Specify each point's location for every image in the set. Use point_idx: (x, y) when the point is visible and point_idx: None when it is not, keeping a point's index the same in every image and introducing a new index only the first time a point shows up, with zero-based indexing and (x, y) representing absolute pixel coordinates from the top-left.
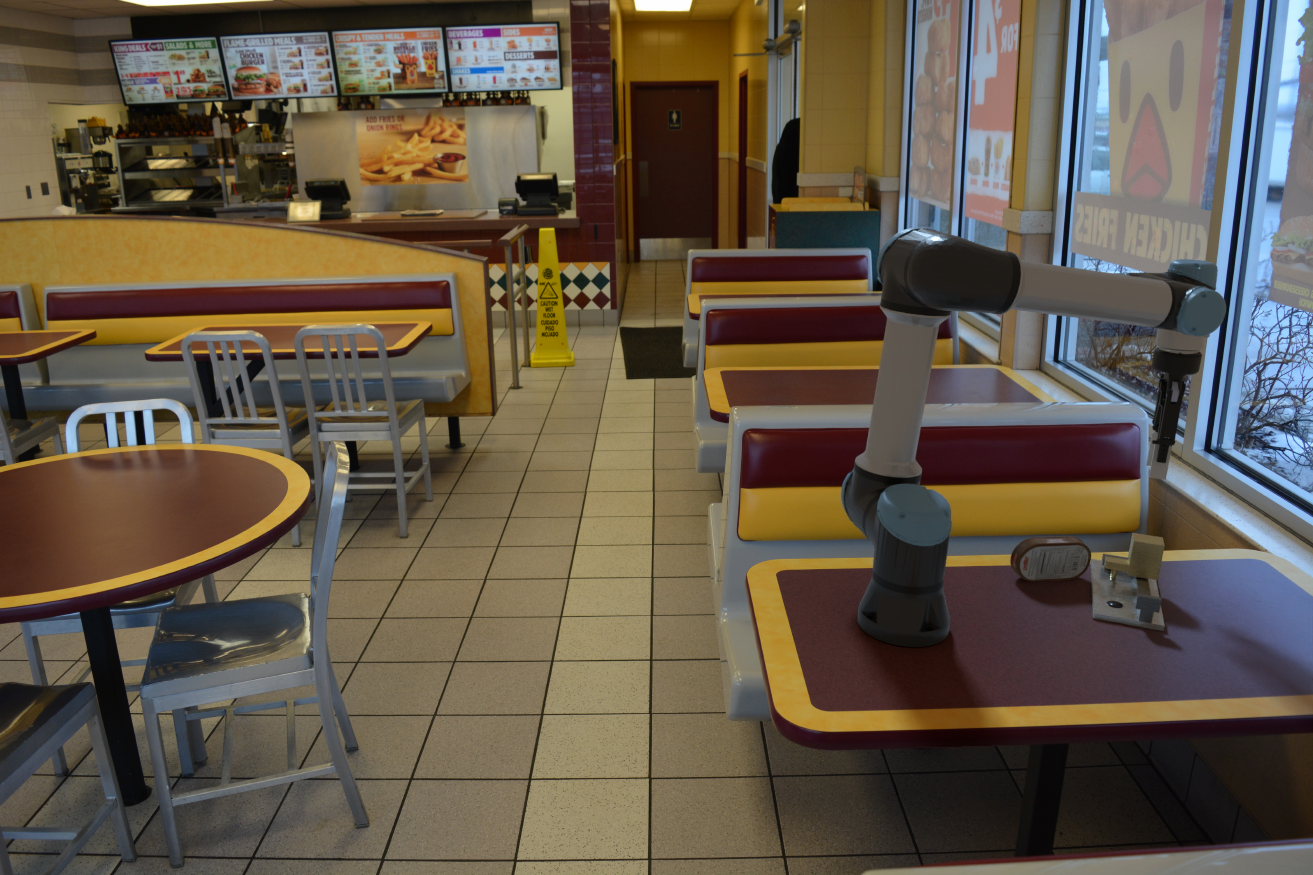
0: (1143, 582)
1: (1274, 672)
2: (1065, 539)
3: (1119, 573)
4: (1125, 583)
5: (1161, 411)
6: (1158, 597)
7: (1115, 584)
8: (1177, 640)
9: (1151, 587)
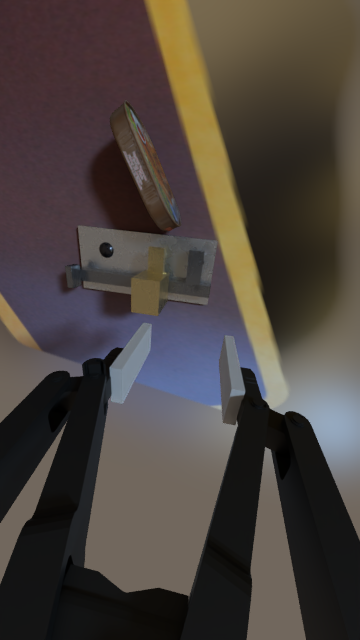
0: None
1: (62, 345)
2: (147, 186)
3: (184, 267)
4: None
5: (62, 480)
6: (71, 285)
7: None
8: (76, 293)
9: None
